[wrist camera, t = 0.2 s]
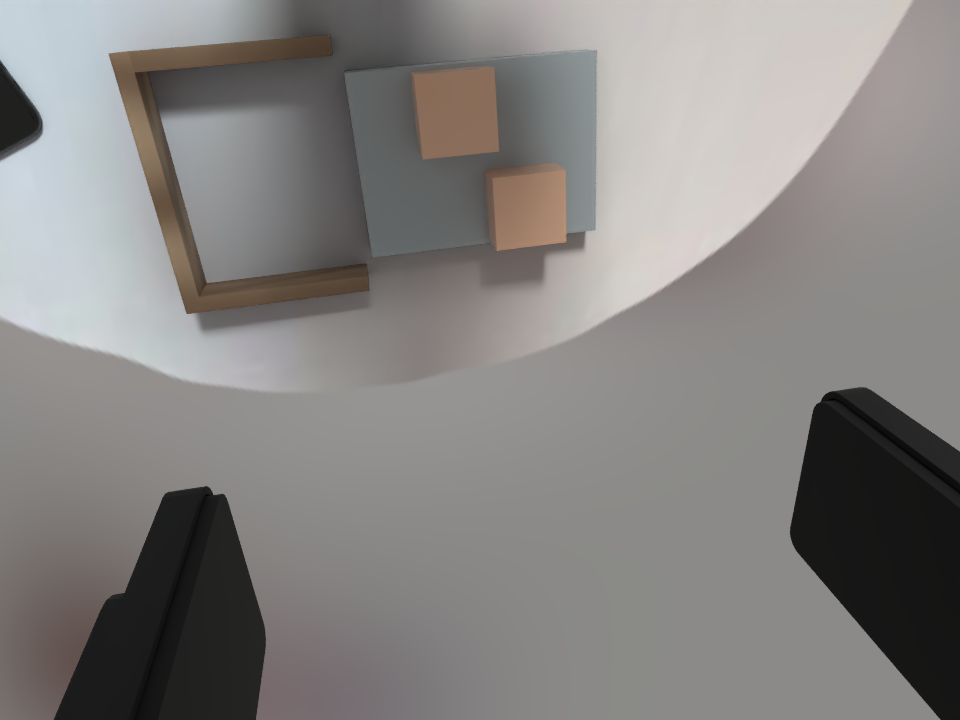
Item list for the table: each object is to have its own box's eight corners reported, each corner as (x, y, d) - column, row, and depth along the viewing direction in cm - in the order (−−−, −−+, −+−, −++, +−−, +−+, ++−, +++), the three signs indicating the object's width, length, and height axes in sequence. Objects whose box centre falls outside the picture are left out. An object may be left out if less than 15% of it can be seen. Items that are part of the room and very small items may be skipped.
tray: (122, 51, 37) (108, 53, 35) (329, 34, 39) (328, 35, 36) (195, 299, 44) (186, 314, 42) (368, 277, 46) (369, 290, 43)
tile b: (484, 170, 42) (492, 178, 40) (554, 162, 42) (565, 170, 40) (489, 239, 44) (496, 251, 42) (555, 231, 44) (566, 242, 42)
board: (344, 71, 40) (344, 73, 38) (586, 49, 41) (596, 50, 40) (371, 248, 45) (372, 257, 43) (585, 222, 47) (595, 230, 45)
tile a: (409, 72, 38) (413, 75, 36) (486, 65, 39) (494, 68, 37) (418, 152, 41) (422, 159, 38) (491, 144, 41) (499, 151, 39)
